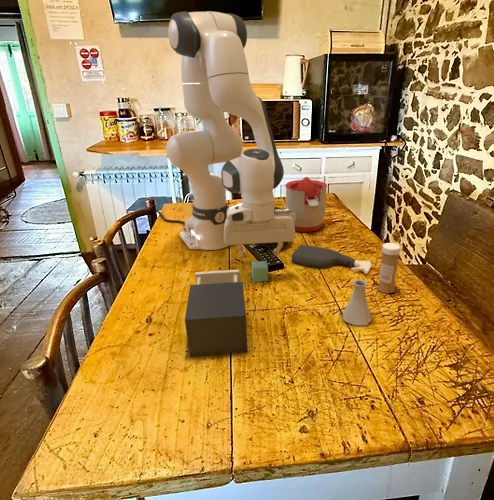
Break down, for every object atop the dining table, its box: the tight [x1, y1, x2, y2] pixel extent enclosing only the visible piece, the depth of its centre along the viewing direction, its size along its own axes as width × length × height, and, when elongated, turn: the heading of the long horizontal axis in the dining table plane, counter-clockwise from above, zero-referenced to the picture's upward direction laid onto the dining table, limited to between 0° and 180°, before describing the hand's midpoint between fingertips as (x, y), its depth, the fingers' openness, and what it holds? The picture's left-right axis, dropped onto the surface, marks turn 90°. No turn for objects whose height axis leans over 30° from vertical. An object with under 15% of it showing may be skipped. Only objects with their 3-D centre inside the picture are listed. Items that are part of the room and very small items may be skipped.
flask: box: [342, 279, 373, 326], centre depth 96 cm, size 7×7×10 cm
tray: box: [194, 269, 241, 285], centre depth 101 cm, size 18×11×8 cm, turn 6°
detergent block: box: [251, 260, 269, 283], centre depth 117 cm, size 4×4×4 cm
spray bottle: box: [291, 244, 372, 275], centre depth 125 cm, size 3×11×24 cm
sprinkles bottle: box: [377, 242, 401, 294], centre depth 107 cm, size 5×5×13 cm
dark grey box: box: [184, 281, 249, 358], centre depth 91 cm, size 15×13×10 cm
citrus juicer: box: [284, 176, 328, 233], centre depth 150 cm, size 16×17×20 cm
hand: (260, 256), depth 114 cm, fingers open, 8 cm apart
